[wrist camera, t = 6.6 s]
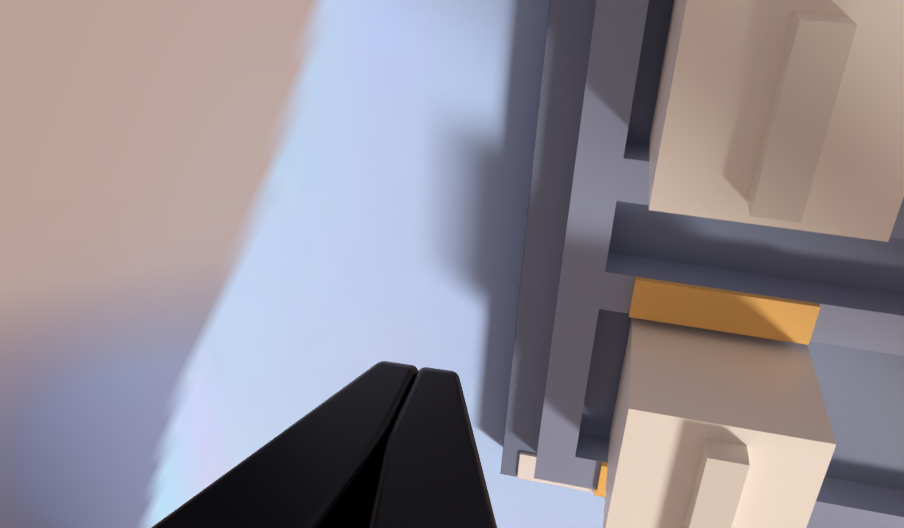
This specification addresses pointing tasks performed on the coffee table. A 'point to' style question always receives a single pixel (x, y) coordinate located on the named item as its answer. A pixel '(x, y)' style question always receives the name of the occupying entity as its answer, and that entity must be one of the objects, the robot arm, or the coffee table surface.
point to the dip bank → (680, 280)
